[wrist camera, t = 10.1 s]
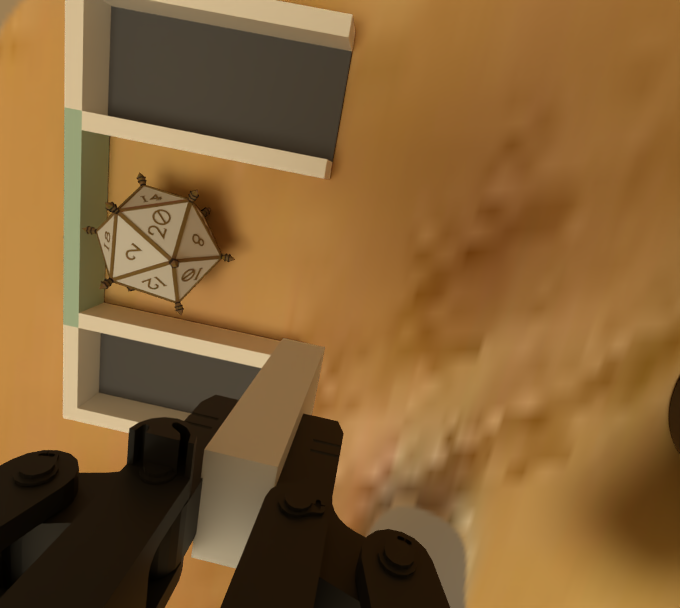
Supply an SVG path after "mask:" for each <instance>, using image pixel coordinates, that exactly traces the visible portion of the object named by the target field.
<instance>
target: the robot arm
mask: <svg viewBox="0 0 680 608" xmlns="http://www.w3.org/2000/svg"><path fill="white" fill-rule="evenodd" d="M324 350H325V347H322V346H317V345H313V344H308V343H304V342H299V341H295V340H290V339H286V338H283V339H282V340H281V341H280V343H279V344H278V346H277V347H276V349H275V350H274V351H273V353H272V354H271V356H270V357H269V358H268V360H267V361H266V363H265V364H264V366H263V367H262V368H261V370H260V371H259V373H258V374H257V375H256V377H255V378H254V380H253V381H252V383H251V384H250V385H249V387H248V388H247V390H246V391H245V392H244V394H243V395H242V397H241V398H240V400H237V399H233V398H228V397H224V396H220V395H214V396H212V397H210V398H208V399H206V400H204V401H202V402H200V403H199V405H198V406H197V407H196V408H195V409H194V410H193V411H192V414H190V415H189V416H188V417H187V418H186V419H185V420H184V421H183V420H180V419H178V418H169V417H160V418H151V419H148V420H144V421H141V422H139V423H137V424H135V425H134V426H132V427H131V428H129V440H128V456H127V465H126V466H125V467H124V468H123V469H122V470H121V471H120V472H110V473H79V466H78V461H77V459H76V458H75V457H73V456H72V455H71V454H69V453H66V452H62V451H59V450H42V451H37V452H32V453H27V454H25V455H22V456H19V457H17V458H14V459H12V460H10V461H8V462H6V463H4V464H2V465H0V608H165V606H166V604H167V602H168V600H169V598H170V597H171V595H172V593H173V591H174V589H175V587H176V585H177V583H178V581H179V579H180V575H181V572H182V567H183V558H184V555H185V553H186V552H187V550H188V548H189V546H190V544H191V543H192V541H193V548H192V557H193V558H196V559H200V560H204V561H208V562H212V563H216V564H220V565H224V566H228V567H232V568H236V570H235V573H234V575H233V578H232V580H231V583H230V585H229V588H228V590H227V593H226V595H225V598H224V600H223V603H222V605H221V608H450V606H449V603H448V601H447V598H446V595H445V593H444V590H443V588H442V585H441V582H440V580H439V577H438V574H437V572H436V569H435V567H434V564H433V561H432V559H431V558H430V556H429V554H428V553H427V551H426V549H425V548H424V547H423V546H422V545H421V544H420V543H419V542H418V541H416V540H415V539H414V538H412V537H410V536H408V535H406V534H405V533H403V532H399V531H394V530H390V529H386V530H378V531H375V532H374V533H372V534H370V535H369V536H367V537H364V536H362V535H360V534H358V533H356V532H355V531H353V530H352V529H350V528H349V527H347V526H346V525H345V524H344V523H343V522H342V521H341V520H340V519H339V518H338V516H337V514H336V513H335V511H334V508H333V505H332V495H333V490H334V484H335V478H336V473H337V467H338V461H339V456H340V450H341V445H342V439H343V431H342V429H341V427H340V425H339V423H338V421H334V420H329V419H325V418H321V417H316V416H312V412H313V406H314V401H315V396H316V391H317V386H318V381H319V376H320V371H321V366H322V361H323V355H324ZM669 424H670V431H671V436H672V439H673V442H674V444H675V446H676V449H677V450H678V452H679V454H680V379H679V381H678V383H677V386H676V388H675V390H674V393H673V396H672V400H671V405H670V412H669ZM193 539H194V540H193Z"/></svg>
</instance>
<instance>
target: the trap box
mask: <svg viewBox="0 0 680 608" xmlns="http://www.w3.org/2000/svg"><path fill="white" fill-rule="evenodd" d="M111 6H113V7H118V8H124V9H129V10H134V11H140V12H145V13H150V14H156V15H161V16H166V17H172V18H177V19H182V20H188V21H193V22H198V23H204V24H209V25H214V26H220V27H225V28H230V29H235V30H241V31H246V32H251V33H257V34H262V35H267V36H273V37H278V38H283V39H289V40H294V41H299V42H305V43H310V44H315V45H321V46H326V47H331V48H337V49H342V50H347V51H352V50H353V44H354V38H355V33H356V32H355V26H354V20H353V14H348V13H342V12H337V11H331V10H326V9H320V8H315V7H310V6H304V5H299V4H293V3H288V2H282V1H277V0H65V110H64V302H63V418H65V419H70V420H74V421H79V422H83V423H87V424H92V425H96V426H100V427H105V428H109V429H113V430H118V431H122V432H126V433H129V428H131V427H132V426H134V425H135V424H137V423H139V422H141V421H144V420H148V419H151V418H160V417H169V418H178V419H180V420H183V421H184V420H185V419H186V418H187V417H188V416H189V415H190V414H191V413H187V412H182V411H178V410H173V409H169V408H165V407H160V406H156V405H151V404H147V403H143V402H138V401H134V400H129V399H125V398H120V397H116V396H112V395H107V394H103V393H99V369H100V338H101V333H104V334H109V335H113V336H118V337H122V338H127V339H131V340H136V341H140V342H145V343H150V344H154V345H159V346H163V347H168V348H172V349H177V350H181V351H186V352H190V353H195V354H199V355H204V356H208V357H213V358H218V359H222V360H227V361H231V362H236V363H240V364H245V365H249V366H254V367H258V368H262V367H263V366H264V364H265V363H266V361H267V360H268V358H269V357H270V356H271V354H272V353H273V351H274V350H275V349H276V347H277V346H278V344H279V343H280V341H279V340H274V339H269V338H265V337H260V336H256V335H251V334H246V333H242V332H237V331H233V330H228V329H223V328H219V327H214V326H210V325H205V324H200V323H196V322H191V321H187V320H182V319H177V318H173V317H168V316H164V315H159V314H154V313H150V312H145V311H141V310H136V309H131V308H127V307H122V306H118V305H113V304H108V303H104V289H99V288H100V284H101V281H104V279H105V261H104V258H103V255H102V251H101V248H100V244H99V241H98V238H97V234H92V235H91V234H87V232H85V231H84V230H83V229H82V228H85V227H88V226H90V227H94V228H95V229H97V228H98V227H99V226H100V225H101V224H102V223H103V222H104V221H105V220H106V219H107V209H106V205H105V202H107V197H108V168H109V138H110V136H114V137H119V138H124V139H129V140H134V141H139V142H144V143H149V144H154V145H159V146H164V147H169V148H174V149H179V150H184V151H189V152H194V153H199V154H203V155H208V156H213V157H218V158H223V159H228V160H233V161H238V162H243V163H248V164H253V165H258V166H263V167H268V168H273V169H278V170H283V171H288V172H293V173H298V174H303V175H308V176H313V177H318V178H323V179H330V174H331V168H332V162H331V161H329V160H327V159H322V158H317V157H312V156H307V155H302V154H297V153H292V152H287V151H282V150H277V149H272V148H267V147H262V146H257V145H252V144H247V143H242V142H237V141H232V140H227V139H222V138H217V137H212V136H207V135H202V134H197V133H192V132H186V131H181V130H176V129H171V128H166V127H161V126H156V125H151V124H146V123H141V122H136V121H131V120H126V119H121V118H116V117H111V116H108V89H109V58H110V27H111Z"/></svg>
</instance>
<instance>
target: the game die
mask: <svg viewBox="0 0 680 608" xmlns="http://www.w3.org/2000/svg"><path fill="white" fill-rule="evenodd" d="M145 178H146V177H144V176H143V175H142V174H141V173H140V172H139V175H138V177H137V179H138V183H140V187H139V188H138V189H137V190H136V191H135V192H134V193H133V194H132V195H131V196H129V197H128V198H127V199H126V200H125V201H124V202H123V203H122V204H121V205H120V206H119V207H118V208H117V206H116V204H115V205H114V203H113V202H111V203H108V202H105V205H106V209H107V210H109V211H110V212H112V214H111V215H110V216H109V217H108V218H107V219H106V220H105V221H104V222H103V223H102V224H101V225H100V226H99V227H98V228H97V229H95V228H94V227H90V226H88V227H85V228H82V229H83V230H84V231H85V232H87V234H91V235H92V234H97V238H98V241H99V244H100V248H101V251H102V255H103V258H104V261H105V265H106V268H107V272H108V275H109V279H104V281H101V284H100V288H99V289H105V288H106V289H107V288H109V286H111V284H112V283H116V284H119V285H122V286H125V287H127V288H128V291H134V290H137V291H140V292H143V293H146V294H149V295H152V296H155V297H158V298H161V299H164V300H167V301H170V302H173V303H175V308H176V310H175V311H177V312H178V313H179V314H180V315H182V312H183V309H184V308H183V307H182V306H183V305H181V303H180V301H181V300H182V299H183V298H184V297H185V296H186V295H187V294H188V293H189V292H190V291H191V290H192V289H193V288H194V287H195V286H196V285H197V284H198V283H199V282H200V281H201V280H202V278H203V277H204V276H205V275H206V274H207V273H208V272H209V271H210V270H211V269H212V268H213V267H214V266H215V265H216V264H217V263H218V262H219V261H220V260H221V259H223V260H224V261H228V262H229V261H232V260H235V259H234V258H233V257H232V256H231V255H230V254H229V255H227V254H224V255H223V254H222V253H221V251H220V249H219V247H218V245H217V243H216V240H215V238H214V236H213V234H212V232H211V230H210V227H209V225H208V223H207V221H206V219H205V217H204V216H207V215H208V214H210V208H204V209H203V210H202V212H201V211H200V210H199V208H198V207H197V206H196V205H195V203H194V202H193V201H195V200H196V199H197V198H198V196H199V195H198V190H195V191H190V194H189V198H186V197H182V196H179V195H176V194H173V193H169V192H166V191H163V190H160V189H157V188H153V187H150V186H147V185H146V180H145Z"/></svg>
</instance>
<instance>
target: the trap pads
mask: <svg viewBox="0 0 680 608" xmlns="http://www.w3.org/2000/svg"><path fill="white" fill-rule="evenodd" d="M351 55H352V51H347V50H342V49H337V48H331V47H326V46H321V45H315V44H310V43H305V42H299V41H294V40H289V39H283V38H278V37H273V36H267V35H262V34H257V33H251V32H246V31H241V30H235V29H230V28H225V27H220V26H214V25H209V24H204V23H198V22H193V21H188V20H182V19H177V18H172V17H166V16H161V15H156V14H150V13H145V12H140V11H134V10H129V9H124V8H118V7H113V6H111V27H110V58H109V89H108V116H111V117H116V118H121V119H126V120H131V121H136V122H141V123H146V124H151V125H156V126H161V127H166V128H171V129H176V130H181V131H186V132H192V133H197V134H202V135H207V136H212V137H217V138H222V139H227V140H232V141H237V142H242V143H247V144H252V145H257V146H262V147H267V148H272V149H277V150H282V151H287V152H292V153H297V154H302V155H307V156H312V157H317V158H322V159H327V160H329V161H331V162H333V157H334V151H335V146H336V140H337V134H338V129H339V123H340V117H341V112H342V106H343V100H344V95H345V89H346V84H347V78H348V72H349V67H350V61H351ZM260 370H261V368H258V367H254V366H249V365H245V364H240V363H236V362H231V361H227V360H222V359H218V358H213V357H208V356H204V355H199V354H195V353H190V352H186V351H181V350H177V349H172V348H168V347H163V346H159V345H154V344H150V343H145V342H140V341H136V340H131V339H127V338H122V337H118V336H113V335H109V334H104V333H101V338H100V369H99V393H103V394H107V395H112V396H116V397H120V398H125V399H129V400H134V401H138V402H143V403H147V404H151V405H156V406H160V407H165V408H169V409H173V410H178V411H182V412H187V413H191V414H192V411H193V410H194V409H195V408H196V407H197V406H198V405H199V403H200V402H202V401H204V400H206V399H208V398H210V397H212V396H214V395H220V396H224V397H228V398H233V399H237V400H240V398H241V397H242V395H243V394H244V392H245V391H246V390H247V388H248V387H249V385H250V384H251V383H252V381H253V380H254V378H255V377H256V375H257V374H258V373H259V371H260Z"/></svg>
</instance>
